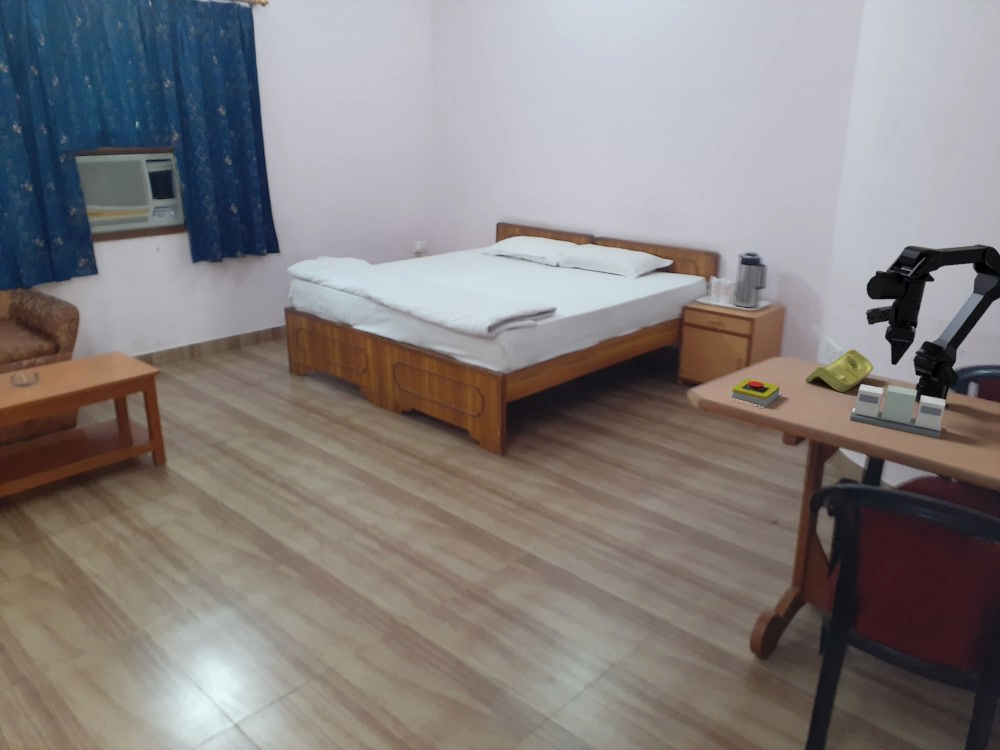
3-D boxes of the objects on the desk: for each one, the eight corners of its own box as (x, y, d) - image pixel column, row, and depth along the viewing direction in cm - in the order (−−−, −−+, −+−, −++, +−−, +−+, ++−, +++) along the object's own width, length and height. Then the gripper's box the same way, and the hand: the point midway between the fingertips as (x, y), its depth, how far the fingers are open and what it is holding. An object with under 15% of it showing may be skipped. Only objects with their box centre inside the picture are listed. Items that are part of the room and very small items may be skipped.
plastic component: (847, 386, 194) (817, 362, 199) (831, 406, 199) (802, 382, 204) (878, 367, 207) (849, 345, 211) (863, 386, 212) (834, 364, 216)
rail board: (940, 427, 175) (947, 398, 173) (940, 438, 169) (947, 408, 166) (853, 410, 184) (859, 382, 182) (849, 419, 178) (855, 391, 175)
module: (910, 417, 177) (916, 390, 175) (909, 424, 173) (916, 396, 170) (882, 412, 180) (888, 385, 177) (881, 418, 175) (887, 390, 173)
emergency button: (729, 385, 187) (749, 371, 198) (726, 401, 188) (747, 387, 199) (765, 394, 181) (784, 379, 193) (762, 410, 183) (782, 395, 194)
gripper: (875, 288, 191) (863, 346, 196) (868, 300, 176) (855, 363, 181) (924, 294, 186) (910, 353, 191) (921, 307, 171) (906, 371, 176)
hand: (895, 360), depth 185 cm, fingers open, 9 cm apart
